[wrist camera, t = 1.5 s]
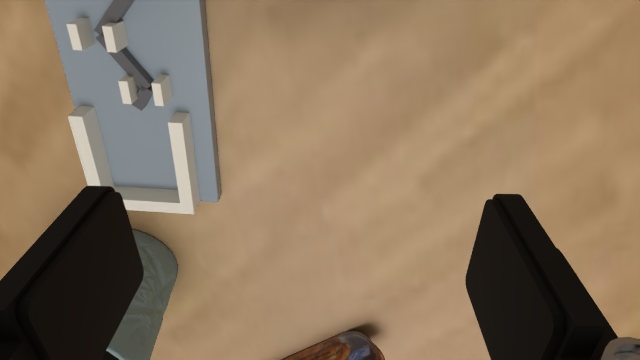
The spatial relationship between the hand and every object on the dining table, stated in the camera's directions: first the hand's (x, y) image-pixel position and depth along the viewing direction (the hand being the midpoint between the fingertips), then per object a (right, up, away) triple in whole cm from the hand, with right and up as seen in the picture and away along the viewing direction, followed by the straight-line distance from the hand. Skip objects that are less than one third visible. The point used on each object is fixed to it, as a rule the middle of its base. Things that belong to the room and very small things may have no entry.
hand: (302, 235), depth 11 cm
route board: (-12, +9, +20) cm, 25 cm away
